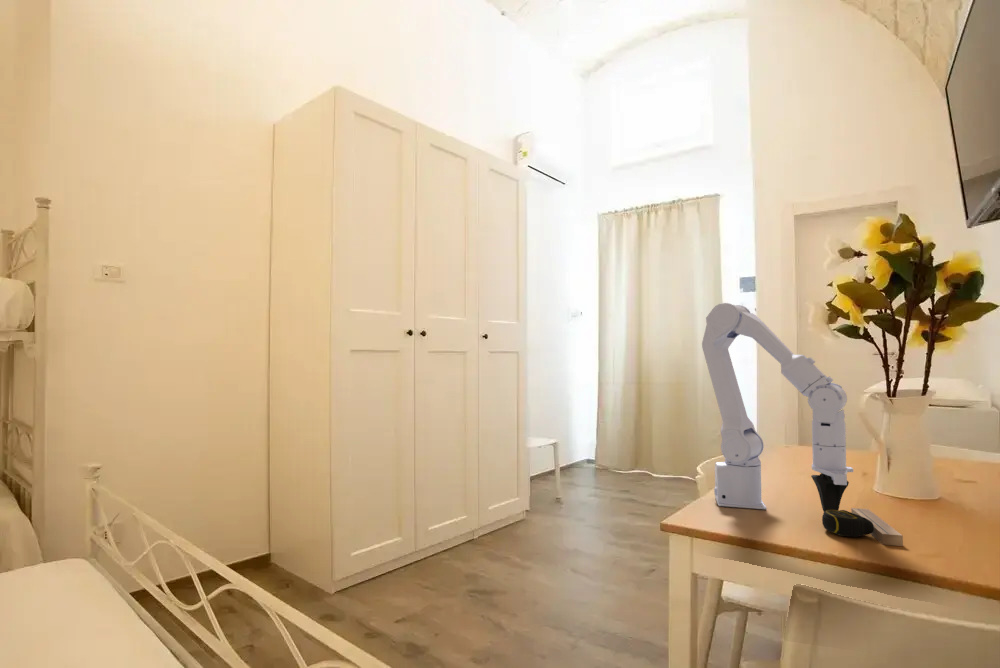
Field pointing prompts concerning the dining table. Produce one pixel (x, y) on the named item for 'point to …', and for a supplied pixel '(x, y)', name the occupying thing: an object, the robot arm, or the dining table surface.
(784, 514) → the dining table surface
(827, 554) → the dining table surface
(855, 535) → the tape measure
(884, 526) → the board
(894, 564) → the dining table surface
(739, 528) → the dining table surface
